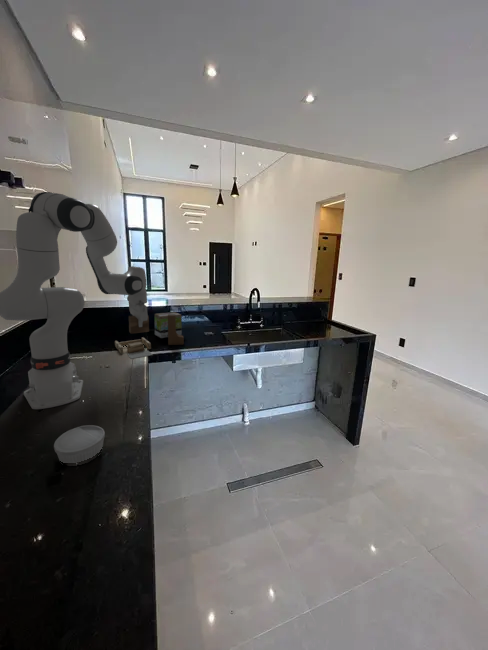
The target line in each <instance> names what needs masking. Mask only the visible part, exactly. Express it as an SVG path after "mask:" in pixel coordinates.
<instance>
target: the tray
mask: <svg viewBox="0 0 488 650" xmlns="http://www.w3.org/2000/svg"><path fill="white" fill-rule="evenodd" d="M136 342H142V343H143V344H144V345H145V346H146V347H147V350H151V349H152V343H151V342H150V341H149V340H147V339H146V338H145V337H144V336H143V337H141V339H140V338H139V339H134V340H132V339H131V340H126V341H120V342H119V341H118V340H114V347H115V348H116V350H118V352H119V354H129V352H128V351H127V347H126V346H128V344H130V343H136ZM125 345H126V346H125ZM123 346H124V347H123Z"/></svg>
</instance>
